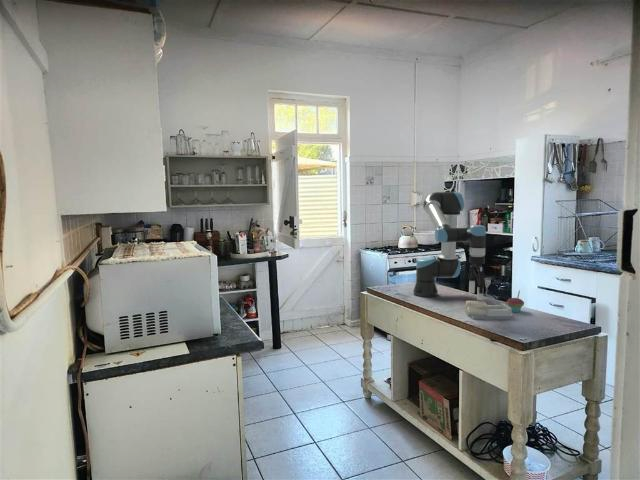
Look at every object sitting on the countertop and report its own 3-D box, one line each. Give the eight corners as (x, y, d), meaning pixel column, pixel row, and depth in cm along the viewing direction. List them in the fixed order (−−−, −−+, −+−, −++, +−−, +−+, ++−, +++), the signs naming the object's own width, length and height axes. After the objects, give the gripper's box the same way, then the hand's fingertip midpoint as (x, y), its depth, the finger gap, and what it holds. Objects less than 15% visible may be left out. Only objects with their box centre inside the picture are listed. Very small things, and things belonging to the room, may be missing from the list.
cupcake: (524, 310, 225) (525, 288, 224) (523, 313, 218) (523, 291, 217) (507, 308, 230) (507, 286, 228) (505, 311, 222) (505, 289, 221)
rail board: (464, 311, 223) (465, 302, 223) (503, 311, 222) (503, 302, 222) (472, 319, 209) (473, 309, 209) (513, 319, 208) (514, 309, 208)
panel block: (465, 312, 219) (465, 300, 218) (483, 312, 218) (483, 300, 218) (468, 314, 214) (469, 303, 213) (486, 314, 213) (486, 303, 213)
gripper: (462, 252, 226) (461, 290, 228) (477, 259, 201) (476, 302, 203) (476, 252, 225) (475, 290, 228) (493, 259, 200) (491, 302, 203)
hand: (475, 296), depth 216 cm, fingers open, 13 cm apart
